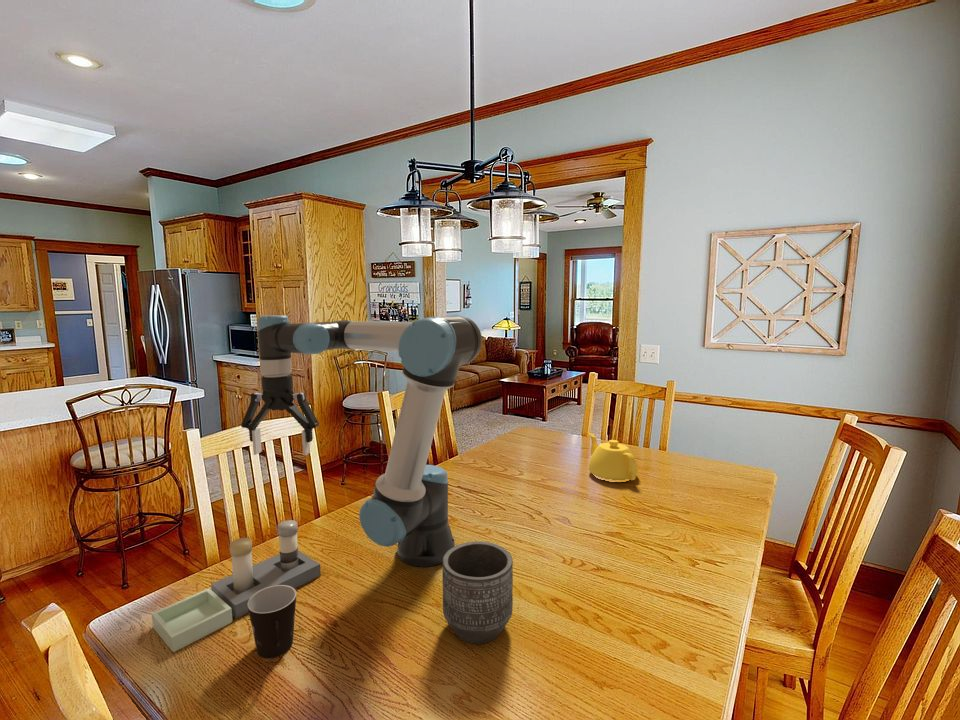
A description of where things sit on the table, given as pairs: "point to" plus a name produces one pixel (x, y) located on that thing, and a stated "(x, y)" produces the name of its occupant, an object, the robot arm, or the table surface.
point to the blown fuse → (288, 544)
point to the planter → (477, 590)
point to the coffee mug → (273, 619)
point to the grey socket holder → (259, 576)
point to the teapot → (612, 460)
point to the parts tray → (191, 619)
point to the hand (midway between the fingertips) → (282, 453)
